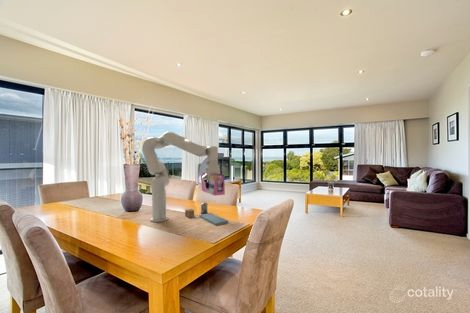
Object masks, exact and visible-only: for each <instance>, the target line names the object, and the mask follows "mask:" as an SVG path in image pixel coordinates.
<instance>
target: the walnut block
mask: <svg viewBox="0 0 470 313" xmlns="http://www.w3.org/2000/svg"><path fill="white" fill-rule="evenodd" d="M184 212H185V214H184V216H185V217H186V218H188V219H189V218H190V219H191V218H194V217H195V209H193V208H189V209H188V208H187V209H185V210H184Z"/></svg>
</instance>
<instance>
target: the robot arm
mask: <svg viewBox="0 0 470 313" xmlns="http://www.w3.org/2000/svg"><path fill="white" fill-rule="evenodd" d="M168 146H174V147H175V148H178V149H180V150H182V151H185V152H187V153H189V154H192V155H194V156H196V157H199V158H201V157H207V159H206V161H205V165H206V167H205V173H206V174H205V175H204V176H203V177H202V176H201V180H202V179H203V181H204V182H205V183H206V188H207V189H209V183H208V182H209V179H210V175H219V174H221V169H220V165H219V161H218V160H219V156H218V155H219V154H218V153H219V149H218V146H216V145H215V146H214V145H210V146H205V145H200V144H197V143H195V142H193V141H191V140H189V139H188V138H186V137H184V136H181V135H180V134H178V133H176V132H174V131H165V132H164V133H163V134H162V135H161V136H159V137H157V136H156V137H155V136H151V137H148V138H146V139H145V140H144V141H143V143H142V146H141V149H142V150H141V151H142V154H143V156H144V160H145V164H146V168H147V170H148V172H149V174H150V175H152V176H154V177H153V178H152V179H151V181H150V189H151V204H152V208H151V210H152V213H151V214H152V217H150V222H153V223H160V222H161V223H162V222H165V221H167V220H169V216H168V215H167V193H166V187H167V186H169V184H170V176H169V173H168V170H167V168H166V165H165V163H164V162H163V161H160V160H159V158H158V154H157V152H156V150H159V149H163V148H166V147H168ZM205 177H206V179H205ZM207 179H208V180H207Z"/></svg>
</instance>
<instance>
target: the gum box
mask: <svg viewBox="0 0 470 313" xmlns="http://www.w3.org/2000/svg"><path fill="white" fill-rule="evenodd" d="M205 174H206V172H201V191H202V192H205V193H207V194H210V195H212V196H224V195H225V187H226V186H225V184H226V183H225V174H222V173H220V174H219V175H210V179H209V182H208V183H209V189H207V188H206V183H205V182H204V181H203V179H202V177H203V176H204V175H205ZM205 179H206V177H205ZM207 180H208V179H207Z"/></svg>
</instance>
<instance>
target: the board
mask: <svg viewBox="0 0 470 313" xmlns="http://www.w3.org/2000/svg"><path fill="white" fill-rule="evenodd" d="M198 217H199V218H201V219H203V220H204V221H206V222H208V223H210V224H212V225H214V226H220V225H224V224H228V223H229V220H228V219H225V218H224V217H222V216H219V215H218V214H217V215H216V214H215V213H213V212H209V213H208V212H207V214H199V216H198Z"/></svg>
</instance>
